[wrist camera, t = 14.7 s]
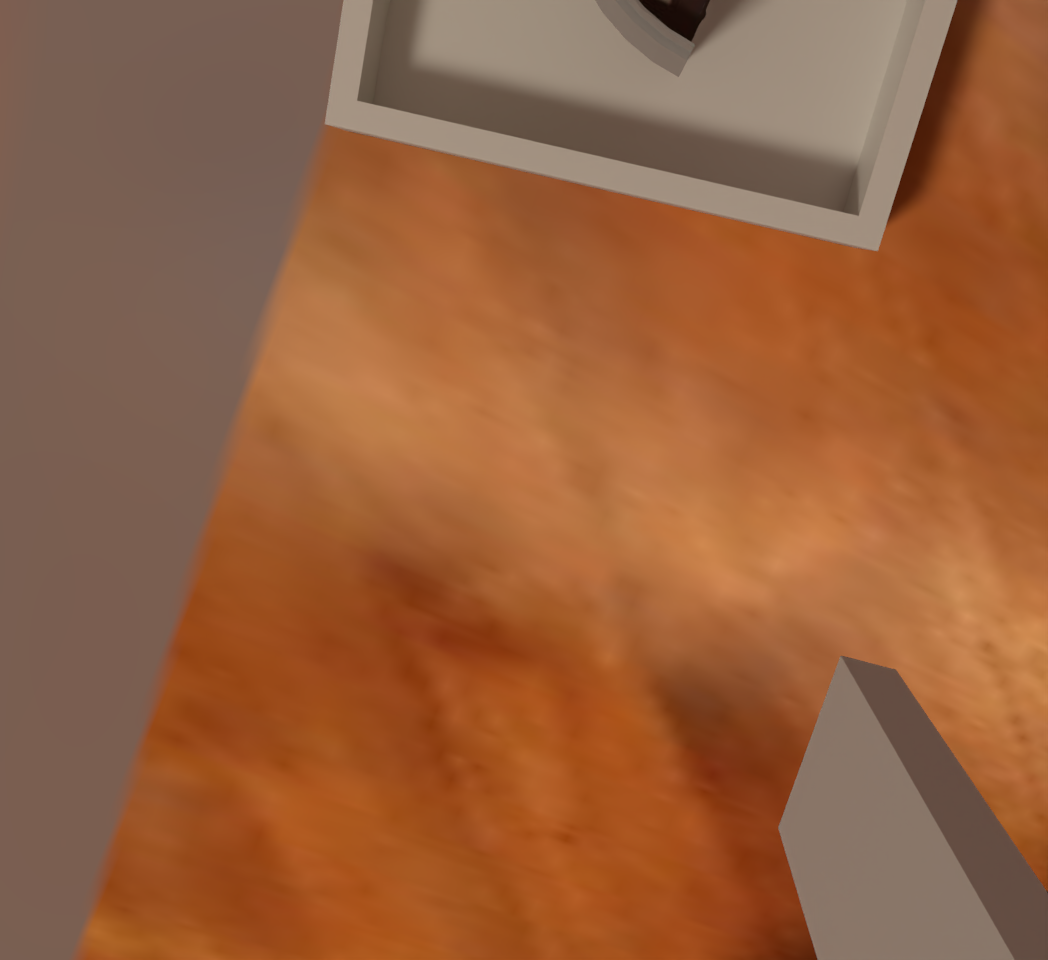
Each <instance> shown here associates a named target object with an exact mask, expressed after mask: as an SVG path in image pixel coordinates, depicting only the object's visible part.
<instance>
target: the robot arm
mask: <svg viewBox="0 0 1048 960" xmlns="http://www.w3.org/2000/svg"><path fill="white" fill-rule="evenodd" d="M778 829H779V832H780V835H781V839H782V842H783V845H784V849H785V852H786V855H787V859H788V862H789V865H790V869H791V872H792V875H793V879H794V882H795V885H796V889H797V892H798V896H799V899H800V902H801V906H802V909H803V912H804V916H805V919H806V922H807V926H808V929H809V932H810V936H811V939H812V942H813V946H814V949H815V952H816V956H817V959H818V960H1048V892H1047V891H1046V890H1045V888H1044V887H1043V885H1042V884H1041V882H1040V881H1039V880H1038V878H1037V877H1036V875H1035V874H1034V872H1033V871H1032V869H1031V868H1030V866H1029V865H1028V863H1027V862H1026V860H1025V859H1024V857H1023V856H1022V855H1021V853H1020V852H1019V850H1018V849H1017V847H1016V846H1015V844H1014V843H1013V841H1012V840H1011V838H1010V837H1009V835H1008V834H1007V832H1006V831H1005V829H1004V828H1003V827H1002V825H1001V824H1000V822H999V821H998V819H997V818H996V816H995V815H994V813H993V812H992V810H991V809H990V807H989V806H988V804H987V803H986V802H985V800H984V799H983V797H982V796H981V794H980V793H979V791H978V790H977V788H976V787H975V785H974V784H973V782H972V781H971V779H970V778H969V777H968V775H967V774H966V772H965V771H964V769H963V768H962V766H961V765H960V763H959V762H958V760H957V759H956V757H955V756H954V754H953V753H952V752H951V750H950V749H949V747H948V746H947V744H946V743H945V741H944V740H943V738H942V737H941V735H940V734H939V732H938V731H937V729H936V728H935V727H934V725H933V724H932V722H931V721H930V719H929V718H928V716H927V715H926V713H925V712H924V710H923V709H922V707H921V706H920V704H919V703H918V702H917V700H916V699H915V697H914V696H913V694H912V693H911V691H910V690H909V688H908V687H907V685H906V684H905V682H904V681H903V679H902V678H901V677H900V675H899V674H898V672H897V671H896V670H895V669H891V668H887V667H883V666H879V665H875V664H872V663H868V662H864V661H860V660H856V659H852V658H848V657H845V656H840V659H839V662H838V665H837V667H836V670H835V673H834V676H833V678H832V681H831V684H830V687H829V689H828V692H827V695H826V698H825V700H824V703H823V706H822V709H821V711H820V714H819V717H818V720H817V722H816V725H815V728H814V731H813V733H812V736H811V739H810V742H809V745H808V747H807V750H806V753H805V756H804V758H803V761H802V764H801V767H800V769H799V772H798V775H797V778H796V780H795V783H794V786H793V789H792V791H791V794H790V797H789V800H788V802H787V805H786V808H785V811H784V813H783V816H782V819H781V822H780V824H779V827H778Z"/></svg>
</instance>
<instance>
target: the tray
mask: <svg viewBox="0 0 1048 960" xmlns="http://www.w3.org/2000/svg"><path fill="white" fill-rule="evenodd" d="M956 3H957V0H710V2H709V5H708V7H707V9H706V16H705V18H704V20H702V21H701V23H700V24H699V26H698V28H697V30H696V33H695V36H694V38H693V40H692V43H694V44H695V46H694V48H693V50H692V52H691V54H690V56H689V58H688V60H687V62H686V64H685V66H684V68H683V70H682V72H681V74H680V76H679V77H677V76H676V75H674V74H672V73H671V72H669V71H667V70H666V69H664V68H662V67H660V66H659V65H657V64H655V63H654V62H652V61H651V60H650V59H649V58H647V57H646V56H645V55H644V54H643V53H641V52H640V51H639V50H638V49H637V48H635V47H634V46H633V45H632V44H631V43H629V42H628V41H627V40H626V39H625V38H624V37H623V36H622V35H621V33H620V32H619V31H618V30H617V29H616V28H615V26H614V25H613V24H612V23H611V22H610V21H609V19H608V18H607V17H606V16H605V15H604V14H603V12H602V11H601V9H600V7H599V6H598V4H597V3H596V1H595V0H344V1H343V8H342V14H341V21H340V28H339V34H338V41H337V47H336V54H335V60H334V67H333V74H332V80H331V87H330V93H329V100H328V107H327V113H326V120H325V124H327V125H330V126H333V127H336V128H340V129H343V130H346V131H350V132H355V133H359V134H363V135H368V136H372V137H376V138H381V139H385V140H389V141H394V142H398V143H402V144H407V145H411V146H415V147H420V148H424V149H428V150H433V151H437V152H441V153H446V154H450V155H454V156H459V157H463V158H468V159H472V160H476V161H481V162H485V163H489V164H494V165H498V166H502V167H507V168H511V169H515V170H520V171H524V172H528V173H533V174H537V175H541V176H546V177H550V178H554V179H559V180H563V181H567V182H572V183H576V184H580V185H585V186H589V187H593V188H598V189H602V190H607V191H611V192H615V193H620V194H624V195H628V196H633V197H637V198H641V199H646V200H650V201H654V202H659V203H663V204H667V205H672V206H676V207H680V208H685V209H689V210H693V211H698V212H702V213H706V214H711V215H715V216H719V217H724V218H728V219H732V220H737V221H741V222H746V223H750V224H754V225H759V226H763V227H767V228H772V229H776V230H780V231H785V232H789V233H793V234H798V235H802V236H806V237H811V238H815V239H819V240H824V241H828V242H832V243H837V244H841V245H845V246H850V247H854V248H860V249H867V250H873V251H878V249H879V246H880V242H881V239H882V236H883V233H884V230H885V227H886V224H887V220H888V217H889V214H890V211H891V208H892V205H893V202H894V198H895V195H896V192H897V189H898V186H899V183H900V180H901V176H902V173H903V170H904V167H905V164H906V161H907V157H908V154H909V151H910V148H911V145H912V142H913V139H914V135H915V132H916V129H917V126H918V123H919V120H920V117H921V113H922V110H923V107H924V104H925V101H926V98H927V95H928V91H929V88H930V85H931V82H932V79H933V76H934V72H935V69H936V66H937V63H938V60H939V57H940V54H941V50H942V47H943V44H944V41H945V38H946V35H947V32H948V28H949V25H950V22H951V19H952V16H953V13H954V10H955V6H956Z"/></svg>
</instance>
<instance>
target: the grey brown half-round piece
mask: <svg viewBox="0 0 1048 960" xmlns="http://www.w3.org/2000/svg"><path fill="white" fill-rule="evenodd" d="M595 1H596V3H597V4H598V6H599V7H600V9H601V11H602V12H603V14H604V15H605V16H606V17H607V18H608V19H609V21H610V22H611V23H612V24H613V25H614V26H615V28H616V29H617V30H618V31H619V32H620V33H621V35H622V36H623V37H624V38H625V39H626V40H627V41H628V42H629V43H631V44H632V45H633V46H634V47H635V48H637V49H638V50H639V51H640V52H641V53H643V54H644V55H645V56H646V57H647V58H649V59H650V60H651V61H652V62H654V63H655V64H657V65H659V66H660V67H662V68H664V69H666V70H667V71H669V72H671V73H672V74H674V75H676V76H677V77H679V76H680V74H681V72H682V70H683V68H684V66H685V64H686V62H687V60H688V58H689V56H690V54H691V52H692V50H693V48H694V46H695V44H694V43H692V40H693V38H694V36H695V33H696V30H697V28H698V26H699V24H700V23H701V21H702V20H704V18H705V16H706V9H707V7H708V5H709V2H710V0H595Z"/></svg>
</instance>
